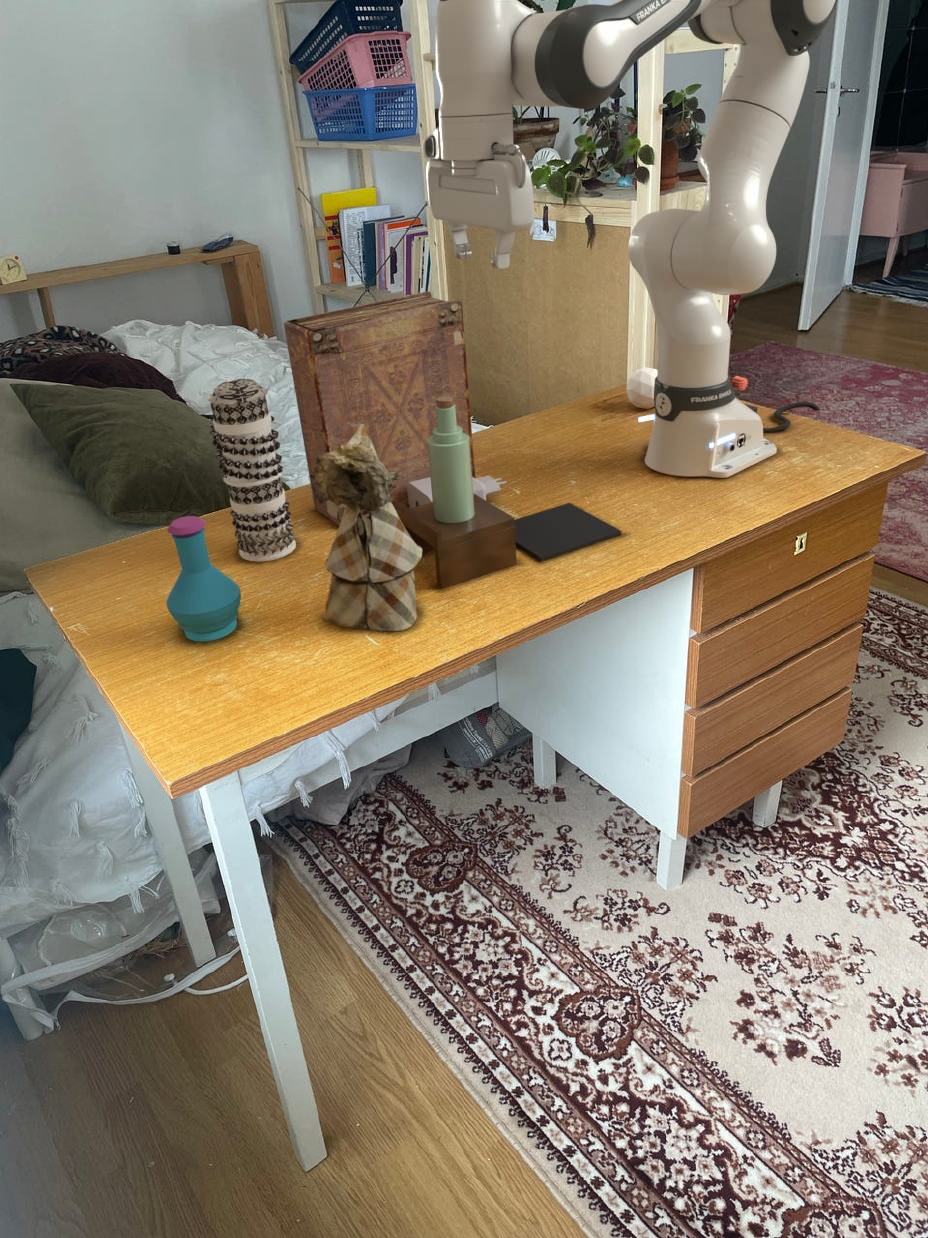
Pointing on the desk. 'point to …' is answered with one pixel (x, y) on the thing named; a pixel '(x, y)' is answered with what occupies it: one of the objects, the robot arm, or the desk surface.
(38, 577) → the desk surface
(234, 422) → the decorative candle
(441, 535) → the shelf
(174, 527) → the perfume bottle
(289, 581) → the desk surface
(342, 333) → the book
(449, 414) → the bottle
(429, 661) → the desk surface
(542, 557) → the mat
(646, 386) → the geometric ball
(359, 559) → the plush toy
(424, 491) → the charger
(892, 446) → the desk surface
